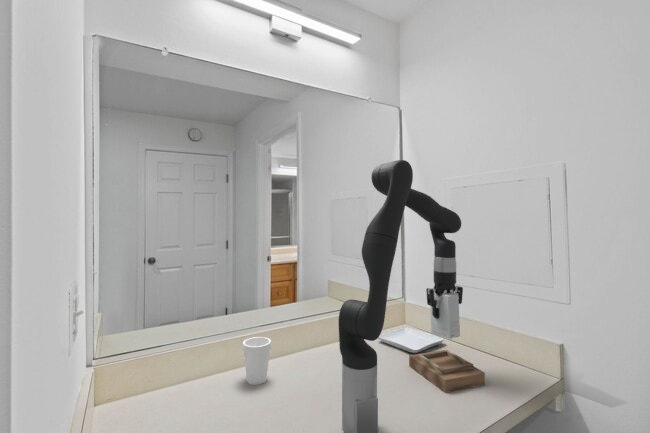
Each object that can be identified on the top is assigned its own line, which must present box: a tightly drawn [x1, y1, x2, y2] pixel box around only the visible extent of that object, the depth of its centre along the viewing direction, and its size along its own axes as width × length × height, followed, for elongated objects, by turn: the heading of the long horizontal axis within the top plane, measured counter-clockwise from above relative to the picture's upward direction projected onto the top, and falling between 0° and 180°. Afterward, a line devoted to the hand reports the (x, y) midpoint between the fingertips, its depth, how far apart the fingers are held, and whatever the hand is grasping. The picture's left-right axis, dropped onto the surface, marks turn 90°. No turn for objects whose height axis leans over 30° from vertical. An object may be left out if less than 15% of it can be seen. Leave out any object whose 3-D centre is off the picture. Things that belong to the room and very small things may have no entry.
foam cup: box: [242, 336, 272, 385], centre depth 115 cm, size 10×9×13 cm
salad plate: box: [377, 326, 445, 354], centre depth 148 cm, size 21×21×3 cm
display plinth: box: [408, 349, 486, 393], centre depth 119 cm, size 20×16×6 cm
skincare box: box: [429, 292, 461, 340], centre depth 119 cm, size 8×6×15 cm
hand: (444, 316), depth 119 cm, fingers closed on skincare box, 6 cm apart
